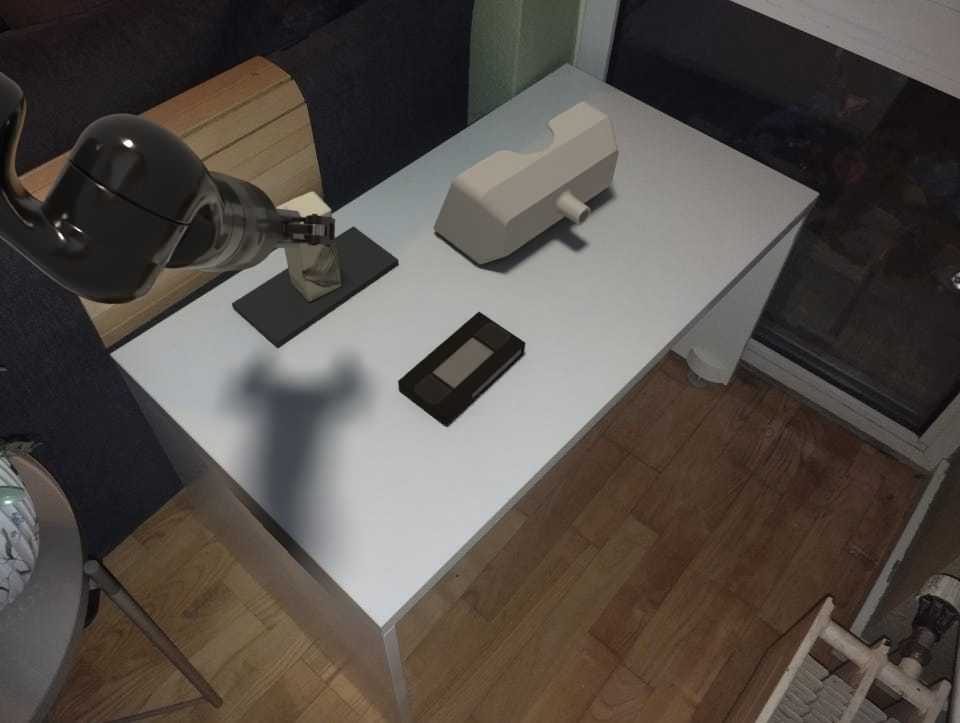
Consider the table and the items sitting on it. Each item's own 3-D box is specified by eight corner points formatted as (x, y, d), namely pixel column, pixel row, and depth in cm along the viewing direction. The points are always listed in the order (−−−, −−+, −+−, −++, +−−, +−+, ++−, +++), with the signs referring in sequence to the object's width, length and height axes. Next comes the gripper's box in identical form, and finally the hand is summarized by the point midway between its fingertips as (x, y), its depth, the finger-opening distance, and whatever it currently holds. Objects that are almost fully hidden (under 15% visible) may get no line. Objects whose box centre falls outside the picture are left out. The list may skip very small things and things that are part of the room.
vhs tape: (524, 353, 94) (526, 343, 92) (446, 427, 87) (446, 417, 85) (478, 321, 97) (478, 311, 95) (398, 390, 90) (397, 381, 88)
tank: (513, 296, 99) (521, 224, 89) (431, 232, 106) (429, 159, 96) (634, 209, 110) (653, 136, 100) (553, 156, 117) (563, 83, 107)
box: (308, 304, 96) (292, 228, 86) (290, 283, 98) (272, 206, 88) (344, 285, 98) (332, 208, 88) (326, 265, 100) (312, 188, 90)
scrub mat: (277, 348, 93) (276, 343, 92) (233, 308, 96) (231, 303, 96) (398, 264, 102) (398, 259, 101) (354, 231, 106) (353, 226, 105)
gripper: (310, 178, 59) (345, 195, 75) (124, 168, 59) (199, 187, 75) (308, 275, 60) (343, 271, 76) (125, 266, 60) (199, 264, 76)
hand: (271, 229), depth 76 cm, fingers open, 8 cm apart
